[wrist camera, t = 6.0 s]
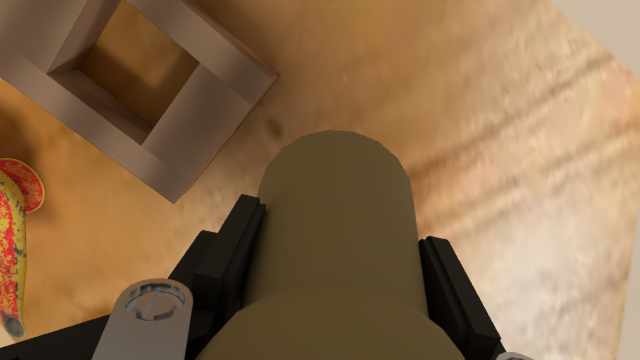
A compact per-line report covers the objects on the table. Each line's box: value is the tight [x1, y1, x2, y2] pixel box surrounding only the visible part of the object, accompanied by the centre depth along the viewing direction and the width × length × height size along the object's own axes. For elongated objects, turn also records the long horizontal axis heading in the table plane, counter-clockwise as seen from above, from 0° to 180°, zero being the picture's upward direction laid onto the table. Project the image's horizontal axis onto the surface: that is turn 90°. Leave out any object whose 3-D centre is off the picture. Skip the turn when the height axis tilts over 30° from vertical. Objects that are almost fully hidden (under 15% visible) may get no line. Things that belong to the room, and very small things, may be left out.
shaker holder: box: [0, 0, 280, 204], centre depth 27 cm, size 16×12×4 cm
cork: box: [194, 130, 465, 360], centre depth 10 cm, size 6×6×11 cm
